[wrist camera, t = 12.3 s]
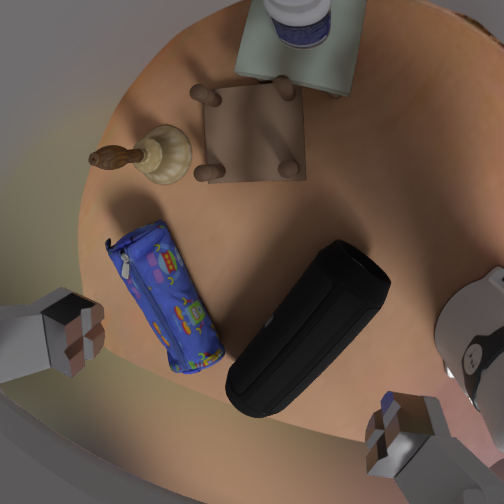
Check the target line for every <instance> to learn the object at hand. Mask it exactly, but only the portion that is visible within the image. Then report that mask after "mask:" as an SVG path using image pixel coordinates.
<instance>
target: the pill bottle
mask: <svg viewBox="0 0 504 504" xmlns="http://www.w3.org/2000/svg"><path fill="white" fill-rule="evenodd" d="M263 1H264V6H265V9H266V12H267V14H268V16H269V18H270V21H271V23H272V25H273V28H274V30H275V33H276V35H277V37H278V38H279V40H280V41H281V42H282V43H283V44H285V45H286V46H288V47H290V48H293V49H296V50H310V49H314V48H317V47H319V46H320V45H322V44H323V43H324V42H325V41H326V40H327V38H328V36H329V34H330V29H331V0H263Z"/></svg>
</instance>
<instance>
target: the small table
mask: <svg viewBox="0 0 504 504" xmlns="http://www.w3.org/2000/svg"><path fill="white" fill-rule="evenodd" d="M366 1H367V0H331V29H330V34H329V36H328V38H327V40H326V41H325V42H324V43H323V44H322V45H320V46H319V47H317V48H314V49H310V50H296V49H293V48H290V47H288V46H286V45H285V44H283V43H282V42H281V41H280V40H279V38H278V37H277V35H276V33H275V30H274V28H273V25H272V23H271V21H270V18H269V16H268V14H267V12H266V9H265V6H264V1H263V0H252V2H251V6H250V9H249V13H248V17H247V21H246V24H245V28H244V32H243V36H242V40H241V44H240V48H239V52H238V56H237V61H236V65H235V69H234V72H236V73H237V74H238V75H239V76H246V77H253V78H256V79H257V80H258V81H259V82H260V83H261V84H267V83H269V82H270V81H271V80H272V81H274V79H275V77H279V76H278V75H281V76H282V75H286V77H287V78H289V79H290V80H291V82H292V84H294V85H299V86H304V87H309V88H313V89H318V90H322V91H326V92H328V94H329V96H330V97H332V98H334V99H338V98H340V97H341V96H342V95H343V96H346V97H349V95H350V91H351V86H352V81H353V76H354V71H355V66H356V60H357V55H358V50H359V44H360V38H361V32H362V26H363V20H364V14H365V8H366ZM281 76H280V77H279V78H282V77H281ZM286 77H285V79H287V78H286ZM283 79H284V77H283Z"/></svg>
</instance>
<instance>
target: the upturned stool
mask: <svg viewBox="0 0 504 504" xmlns="http://www.w3.org/2000/svg"><path fill="white" fill-rule="evenodd" d="M278 76H279V77H280V76H281V75H278ZM279 77H275V79H274V81H273V83H270V84H258V85H247V86H237V87H229V88H221V89H213V90H210V89H208V88H206V87H205V86H203V85H201V84H196V85H194V86H192V88H191V89H190V96H191V98H192V99H194V100H197V101H199V102H202V103H204V118H205V138H206V156H207V165H199V166H197V167H196V168H195V170H194V177H195V179H196V180H197V181H199V182H204V181H208V184H210V183H229V182H253V181H291V180H306V160H305V137H304V118H303V102H302V87H301V86H299V85H294V84H292V82H291V80H290V79H289V78H287V77H286V75H282V76H281V77H282V78H279ZM283 77H284V79H283ZM285 77H286V78H287V79H285Z"/></svg>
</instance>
